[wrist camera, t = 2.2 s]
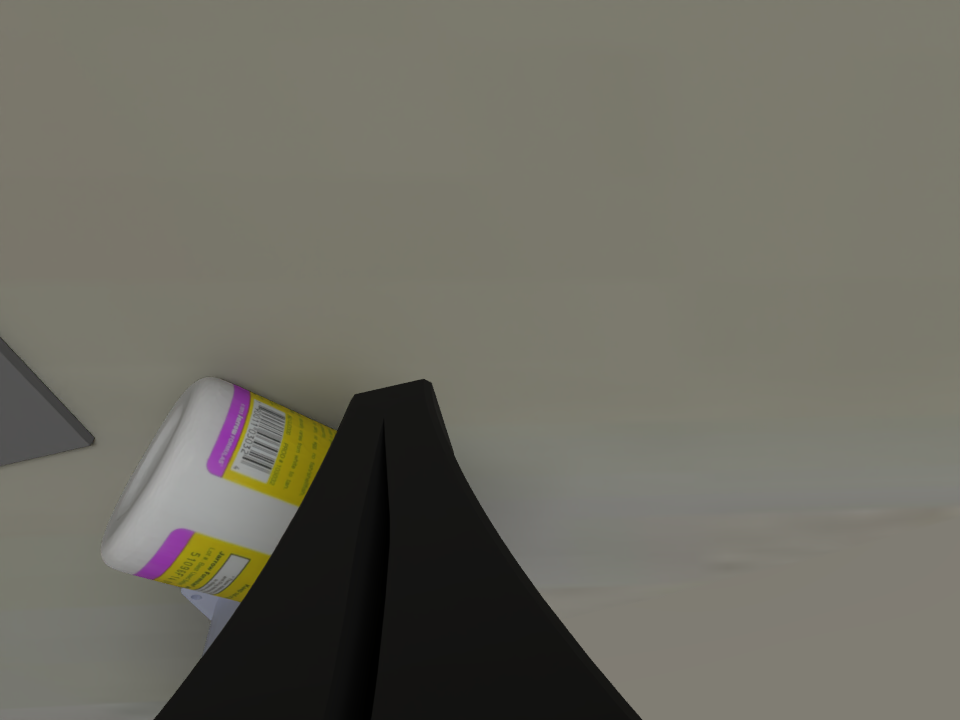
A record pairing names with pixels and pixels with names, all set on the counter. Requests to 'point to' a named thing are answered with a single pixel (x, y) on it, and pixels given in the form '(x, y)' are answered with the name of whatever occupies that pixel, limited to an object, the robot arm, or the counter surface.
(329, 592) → the robot arm
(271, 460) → the supplement bottle
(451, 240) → the counter surface
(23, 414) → the mat
